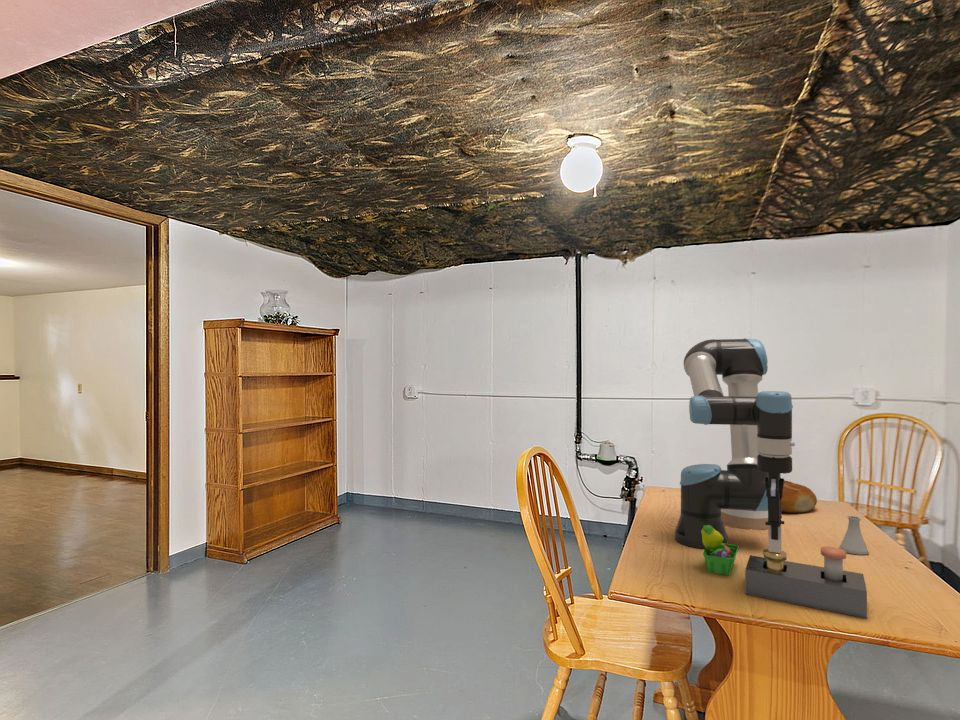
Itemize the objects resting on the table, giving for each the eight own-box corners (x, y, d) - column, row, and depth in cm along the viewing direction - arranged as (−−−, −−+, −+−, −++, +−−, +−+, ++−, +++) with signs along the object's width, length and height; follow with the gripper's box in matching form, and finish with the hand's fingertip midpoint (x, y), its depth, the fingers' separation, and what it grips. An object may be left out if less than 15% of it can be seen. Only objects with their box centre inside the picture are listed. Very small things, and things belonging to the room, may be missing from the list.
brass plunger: (762, 585, 133) (762, 553, 133) (764, 577, 137) (764, 547, 137) (786, 589, 130) (786, 557, 130) (787, 582, 134) (787, 550, 134)
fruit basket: (733, 578, 141) (733, 535, 141) (697, 571, 146) (697, 529, 146) (739, 564, 151) (739, 523, 151) (705, 558, 156) (705, 518, 156)
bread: (815, 520, 190) (815, 491, 190) (741, 510, 203) (741, 483, 203) (817, 504, 209) (817, 478, 209) (749, 496, 222) (749, 472, 222)
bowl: (776, 519, 191) (776, 495, 191) (772, 533, 177) (772, 507, 176) (723, 512, 200) (723, 489, 200) (715, 525, 186) (715, 500, 186)
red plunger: (820, 584, 126) (820, 551, 126) (820, 577, 131) (820, 545, 131) (846, 589, 124) (846, 555, 124) (845, 581, 128) (845, 548, 128)
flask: (874, 556, 156) (874, 521, 156) (846, 554, 157) (845, 520, 157) (862, 547, 163) (861, 514, 163) (835, 546, 164) (834, 513, 164)
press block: (745, 594, 132) (745, 569, 132) (750, 578, 141) (750, 555, 141) (866, 618, 120) (866, 591, 119) (863, 599, 129) (863, 573, 129)
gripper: (791, 460, 126) (791, 563, 126) (793, 452, 137) (793, 546, 137) (754, 457, 130) (755, 557, 130) (759, 449, 141) (760, 541, 141)
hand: (775, 551), depth 133 cm, fingers closed
